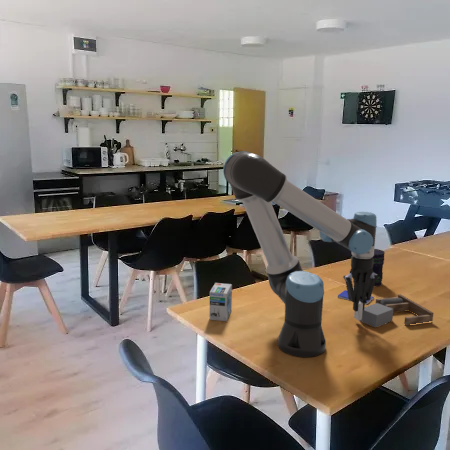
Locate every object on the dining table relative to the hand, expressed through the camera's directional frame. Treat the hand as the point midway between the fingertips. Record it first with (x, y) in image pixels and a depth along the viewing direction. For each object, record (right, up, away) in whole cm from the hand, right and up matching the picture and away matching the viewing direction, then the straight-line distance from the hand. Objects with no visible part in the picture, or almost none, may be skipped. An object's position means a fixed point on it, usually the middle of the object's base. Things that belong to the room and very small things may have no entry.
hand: (357, 318), depth 165 cm
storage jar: (+18, +7, +43) cm, 48 cm away
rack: (+19, 0, +8) cm, 21 cm away
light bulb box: (-50, 0, +6) cm, 50 cm away
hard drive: (+6, +3, +25) cm, 26 cm away
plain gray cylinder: (+17, +1, +14) cm, 23 cm away
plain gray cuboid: (+7, -2, +2) cm, 8 cm away
